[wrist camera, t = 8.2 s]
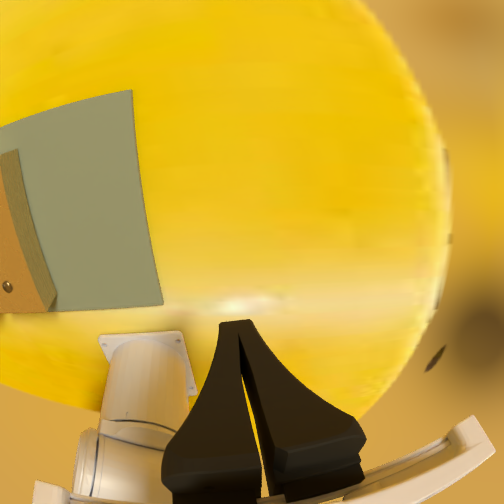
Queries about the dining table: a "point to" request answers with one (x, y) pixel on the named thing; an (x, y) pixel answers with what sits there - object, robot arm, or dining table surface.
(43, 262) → the brass leaf
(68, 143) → the felt mat
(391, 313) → the dining table surface
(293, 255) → the dining table surface
